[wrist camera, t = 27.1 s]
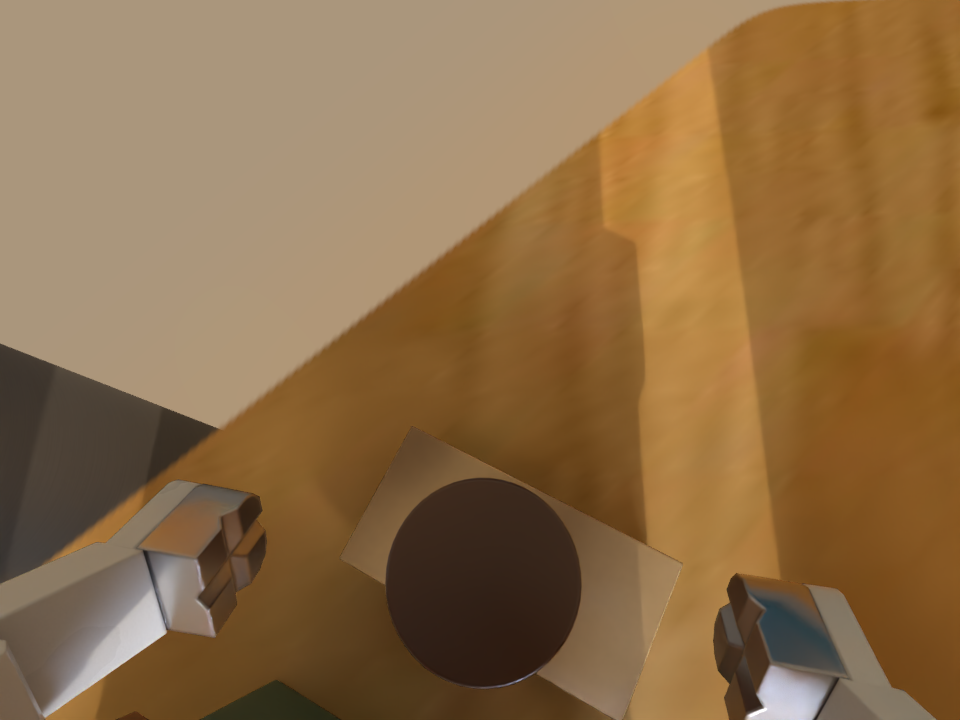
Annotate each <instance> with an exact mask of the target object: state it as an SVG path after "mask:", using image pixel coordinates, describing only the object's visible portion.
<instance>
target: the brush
mask: <svg viewBox="0 0 960 720" xmlns="http://www.w3.org/2000/svg"><path fill="white" fill-rule="evenodd" d="M340 559H341V560H342V561H344V562H346V563H347V564H349V565H351V566H352V567H354V568H356V569H358V570H359V571H361V572H363V573H364V574H366V575H368V576H370V577H371V578H373V579H375V580H376V581H378V582H380V583H382V584H383V585H385V588H386V599H387V605H388V610H389V613H390V616H391V620H392V623H393V625H394V627H395V629H396V632H397V634H398V636H399V638H400V639H401V641H402V642H403V644H404V646H405V647H406V648H407V650H408V651H409V652H410V653H411V655H412V656H413V657H414V658H415V659H416V660H417V661H418V662H419V663H420V664H421V665H422V666H423V667H424V668H426V669H427V670H429V671H430V672H431V673H433V674H434V675H436V676H438V677H440V678H442V679H443V680H445V681H447V682H450V683H453V684H456V685H459V686H463V687H468V688H473V689H493V688H501V687H505V686H509V685H512V684H515V683H518V682H520V681H522V680H525V679H527V678H529V677H530V676H532V675H533V674H537V675H539V676H540V677H542V678H544V679H545V680H547V681H549V682H551V683H552V684H554V685H556V686H557V687H559V688H561V689H563V690H564V691H566V692H568V693H569V694H571V695H573V696H575V697H576V698H578V699H580V700H581V701H583V702H585V703H586V704H588V705H590V706H592V707H593V708H595V709H597V710H598V711H600V712H602V713H604V714H605V715H607V716H609V717H610V718H612V719H614V720H623V718H624V716H625V713H626V711H627V708H628V705H629V703H630V700H631V698H632V695H633V693H634V690H635V687H636V685H637V682H638V680H639V677H640V674H641V672H642V669H643V667H644V664H645V661H646V659H647V656H648V654H649V651H650V649H651V646H652V643H653V641H654V638H655V636H656V633H657V630H658V628H659V625H660V623H661V620H662V618H663V615H664V612H665V610H666V607H667V605H668V602H669V599H670V597H671V594H672V592H673V589H674V587H675V584H676V581H677V579H678V576H679V574H680V571H681V568H682V566H683V564H682V563H681V562H679V561H677V560H675V559H673V558H671V557H670V556H668V555H666V554H664V553H662V552H660V551H658V550H656V549H654V548H652V547H650V546H648V545H646V544H644V543H642V542H640V541H638V540H636V539H634V538H632V537H630V536H628V535H626V534H624V533H622V532H620V531H618V530H616V529H614V528H612V527H610V526H608V525H606V524H605V523H603V522H601V521H599V520H597V519H595V518H593V517H591V516H589V515H587V514H585V513H583V512H581V511H579V510H577V509H575V508H573V507H571V506H569V505H567V504H565V503H563V502H561V501H559V500H557V499H555V498H553V497H551V496H549V495H547V494H545V493H543V492H542V491H540V490H538V489H536V488H534V487H532V486H530V485H528V484H526V483H524V482H522V481H520V480H518V479H516V478H514V477H512V476H510V475H508V474H506V473H504V472H502V471H500V470H498V469H496V468H494V467H492V466H490V465H488V464H486V463H484V462H482V461H480V460H478V459H477V458H475V457H473V456H471V455H469V454H467V453H465V452H463V451H461V450H459V449H457V448H455V447H453V446H451V445H449V444H447V443H445V442H443V441H441V440H439V439H437V438H435V437H433V436H431V435H429V434H427V433H425V432H423V431H421V430H419V429H417V428H415V427H414V426H412V427H411V429H410V430H409V432H408V434H407V436H406V438H405V439H404V441H403V443H402V445H401V447H400V448H399V450H398V452H397V454H396V456H395V458H394V459H393V461H392V463H391V465H390V467H389V468H388V470H387V472H386V474H385V476H384V477H383V479H382V481H381V483H380V485H379V487H378V488H377V490H376V492H375V494H374V496H373V497H372V499H371V501H370V503H369V505H368V506H367V508H366V510H365V512H364V514H363V516H362V517H361V519H360V521H359V523H358V525H357V526H356V528H355V530H354V532H353V534H352V535H351V537H350V539H349V541H348V543H347V545H346V546H345V548H344V550H343V552H342V554H341V555H340Z"/></svg>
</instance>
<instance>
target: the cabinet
mask: <svg viewBox="0 0 960 720" xmlns="http://www.w3.org/2000/svg"><path fill="white" fill-rule="evenodd" d="M116 720H148V719H147V718H145V717H144V716H142V715H141V714H140V713H138V712H133V713H130V714H128V715H126V716H123V717H121V718H118V719H116ZM200 720H340V719H339V718H337V717H336V716H334V715H332V714H331V713H329V712H328V711H326V710H324V709H323V708H321V707H320V706H318V705H316V704H315V703H313V702H312V701H310V700H308V699H307V698H305V697H304V696H302V695H300V694H299V693H297V692H296V691H294V690H292V689H291V688H289V687H288V686H286V685H285V684H283V683H281V682H280V681H278V680H274V681H273V682H271V683H269V684H267V685H265V686H263V687H261V688H259V689H257V690H255V691H253V692H251V693H250V694H248V695H246V696H244V697H242V698H240V699H238V700H236V701H234V702H232V703H230V704H228V705H227V706H225V707H223V708H221V709H219V710H217V711H215V712H213V713H211V714H209V715H207V716H206V717H204V718H202V719H200Z"/></svg>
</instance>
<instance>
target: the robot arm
mask: <svg viewBox="0 0 960 720" xmlns="http://www.w3.org/2000/svg"><path fill="white" fill-rule="evenodd" d="M261 512H262V506H261V501H260V497H259V496H257V495H255V494H253V493H248V492H243V491H238V490H233V489H228V488H222V487H217V486H212V485H207V484H198V483H193V482H188V481H183V480H175V481H172V482H170V483H168V484H167V485H166V486H165V487H164V488H163V489H162V490H161V491H159V492H158V493H157V494H156V495H155V496H154V497H153V498H152V499H151V500H150V501H149V502H148V503H147V504H146V505H145V506H144V507H143V508H142V509H141V510H140V511H139V512H138V513H136V514H135V515H134V516H133V517H132V518H131V519H130V520H129V521H128V522H127V523H126V524H125V525H124V526H123V527H122V528H121V529H120V530H119V531H118V532H117V533H116V534H115V535H114V536H112V537H111V538H110V539H109V540H108V541H107V542H106V543H100V542H96V543H94V544H91V545H89V546H87V547H84V548H82V549H80V550H77V551H75V552H73V553H71V554H68V555H66V556H64V557H61V558H59V559H57V560H54V561H52V562H50V563H47V564H45V565H43V566H40V567H38V568H36V569H34V570H31V571H29V572H27V573H24V574H22V575H20V576H17V577H15V578H13V579H10V580H8V581H6V582H3V583H1V584H0V720H45V718H46V717H47V716H48V715H50V714H51V713H53V712H54V711H56V710H57V709H59V708H60V707H61V706H63V705H64V704H66V703H67V702H69V701H70V700H71V699H73V698H74V697H76V696H77V695H79V694H80V693H81V692H83V691H84V690H86V689H87V688H89V687H90V686H92V685H93V684H94V683H96V682H97V681H99V680H100V679H102V678H103V677H104V676H106V675H107V674H109V673H110V672H112V671H113V670H114V669H116V668H117V667H119V666H120V665H122V664H123V663H124V662H126V661H127V660H129V659H130V658H132V657H133V656H135V655H136V654H137V653H139V652H140V651H142V650H143V649H145V648H146V647H147V646H149V645H150V644H152V643H153V642H155V641H156V640H157V639H159V638H160V637H162V636H163V635H165V634H166V633H167V630H171V631H177V632H183V633H189V634H195V635H200V636H206V637H212V638H215V637H216V636H217V634H218V633H219V631H220V630H221V628H222V627H223V625H224V624H225V622H226V621H227V619H228V618H229V616H230V615H231V613H232V612H233V610H234V609H235V607H236V606H237V597H236V592H237V591H239V590H241V589H242V588H244V587H246V586H248V585H249V584H251V583H252V581H253V580H254V578H255V577H256V575H257V574H258V572H259V570H260V568H261V565H262V562H263V560H264V557H265V554H266V545H267V538H266V530H265V529H264V528H263V527H262V525H261V524H260V523H259V522H258V521H257V520H256V519H257V518H258V516H259V515H260V514H261ZM727 593H728V597H729V600H730V603H729V604H727V605H725V606H723V607H722V608H720V609H719V612H718V615H717V618H716V621H715V626H714V639H713V643H714V654H715V659H716V664H717V669H718V671H719V672H720V673H721V675H722V676H723V677H724V678H725V679H726V680H727V682H728V683H729V684H730V685H729V687H728V690H727V692H726V695H725V697H724V699H725V704H726V708H727V712H728V716H729V720H937V719H936V718H934V717H933V716H932V715H931V714H930V713H929V712H928V711H926V710H925V709H924V708H923V707H922V706H921V705H920V704H918V703H917V702H916V701H915V700H914V699H913V698H912V697H911V696H909V695H908V694H907V693H906V692H905V691H904V690H900V689H895V688H892V687H891V685H890V683H889V681H888V679H887V677H886V675H885V673H884V671H883V669H882V668H881V666H880V664H879V662H878V660H877V658H876V656H875V654H874V652H873V650H872V648H871V646H870V644H869V642H868V640H867V639H866V637H865V635H864V633H863V631H862V629H861V627H860V625H859V623H858V621H857V619H856V617H855V615H854V613H853V612H852V610H851V608H850V606H849V604H848V602H847V600H846V598H845V596H844V594H842V593H841V592H840V591H839V590H838V589H836V588H829V587H823V586H816V585H810V584H800V583H796V582H790V581H783V580H777V579H771V578H764V577H758V576H751V575H745V574H739V573H736V574H735V575H734V576H733V577H732V578H731V580H730V582H729V585H728V587H727Z"/></svg>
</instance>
